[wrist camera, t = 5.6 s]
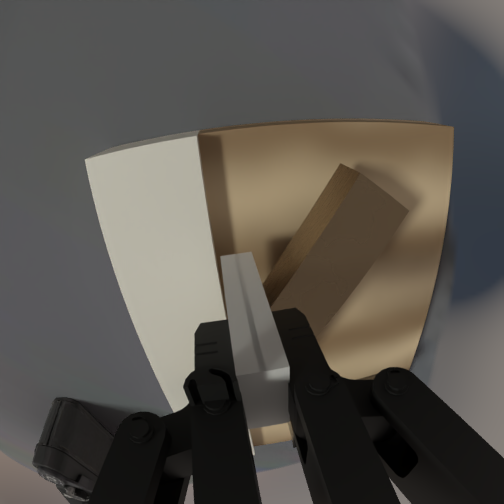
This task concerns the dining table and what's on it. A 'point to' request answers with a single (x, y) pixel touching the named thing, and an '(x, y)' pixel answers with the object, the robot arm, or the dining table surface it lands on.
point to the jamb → (160, 248)
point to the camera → (72, 450)
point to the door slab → (303, 199)
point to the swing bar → (334, 247)
